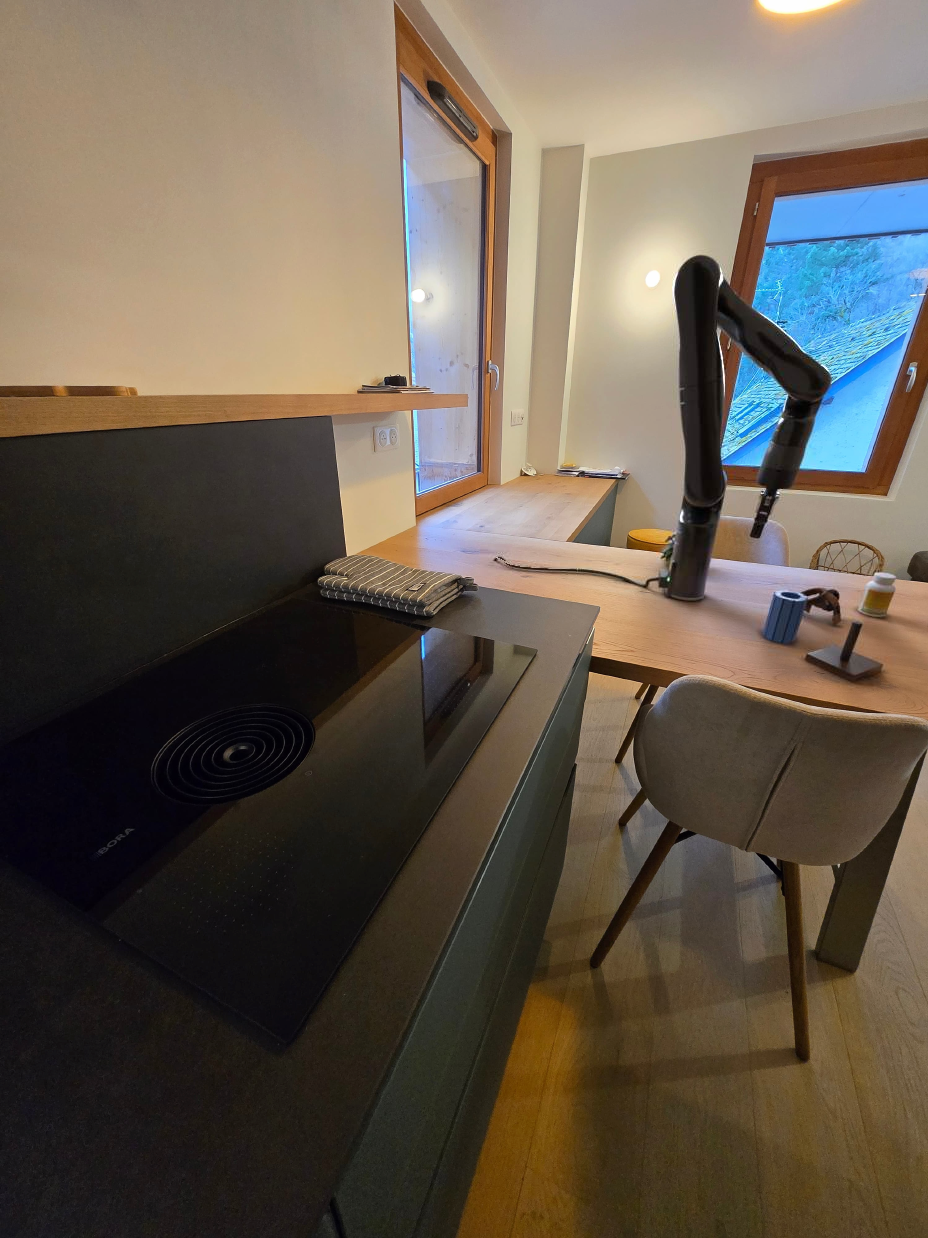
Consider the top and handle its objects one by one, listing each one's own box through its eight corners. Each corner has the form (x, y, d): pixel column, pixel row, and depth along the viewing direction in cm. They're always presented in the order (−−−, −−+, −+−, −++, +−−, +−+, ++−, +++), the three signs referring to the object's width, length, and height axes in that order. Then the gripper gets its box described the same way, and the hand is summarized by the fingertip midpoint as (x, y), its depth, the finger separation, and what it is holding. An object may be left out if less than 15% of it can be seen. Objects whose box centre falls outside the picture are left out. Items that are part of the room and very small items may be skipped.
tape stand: (851, 681, 92) (868, 637, 88) (804, 660, 100) (818, 617, 96) (880, 671, 95) (898, 627, 91) (833, 650, 103) (847, 609, 99)
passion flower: (664, 577, 158) (672, 542, 159) (700, 578, 150) (708, 542, 152) (651, 565, 149) (660, 528, 151) (688, 566, 142) (697, 527, 143)
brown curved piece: (833, 633, 111) (820, 601, 110) (791, 634, 119) (778, 604, 118) (859, 607, 115) (847, 576, 114) (816, 610, 124) (804, 582, 123)
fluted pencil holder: (766, 641, 107) (778, 599, 103) (760, 629, 112) (771, 588, 108) (797, 645, 105) (811, 602, 101) (790, 632, 110) (802, 591, 106)
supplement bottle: (890, 618, 116) (905, 579, 112) (864, 616, 117) (878, 578, 113) (877, 609, 121) (892, 571, 117) (853, 607, 122) (866, 570, 118)
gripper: (764, 455, 117) (742, 520, 126) (759, 467, 107) (735, 537, 115) (800, 460, 114) (775, 526, 123) (799, 473, 104) (771, 545, 112)
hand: (756, 532), depth 119 cm, fingers open, 8 cm apart
